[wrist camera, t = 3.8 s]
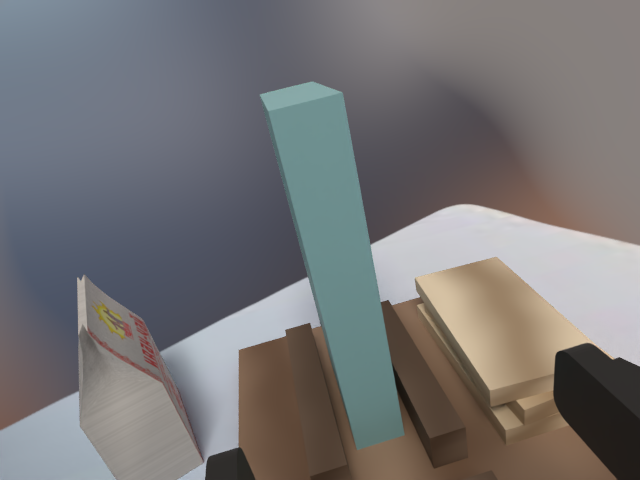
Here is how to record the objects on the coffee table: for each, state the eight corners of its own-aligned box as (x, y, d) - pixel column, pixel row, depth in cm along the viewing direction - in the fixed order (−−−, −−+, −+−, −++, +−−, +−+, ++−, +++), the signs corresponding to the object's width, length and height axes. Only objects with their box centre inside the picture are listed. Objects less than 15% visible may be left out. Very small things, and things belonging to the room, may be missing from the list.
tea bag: (134, 506, 21) (32, 356, 16) (121, 419, 26) (42, 290, 22) (203, 463, 22) (126, 314, 18) (177, 389, 28) (114, 262, 23)
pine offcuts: (499, 449, 18) (498, 401, 17) (412, 317, 27) (407, 279, 26) (630, 407, 19) (638, 357, 17) (501, 291, 28) (500, 253, 27)
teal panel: (357, 450, 20) (268, 111, 13) (331, 365, 25) (259, 94, 18) (404, 435, 20) (342, 92, 13) (369, 353, 25) (312, 81, 18)
